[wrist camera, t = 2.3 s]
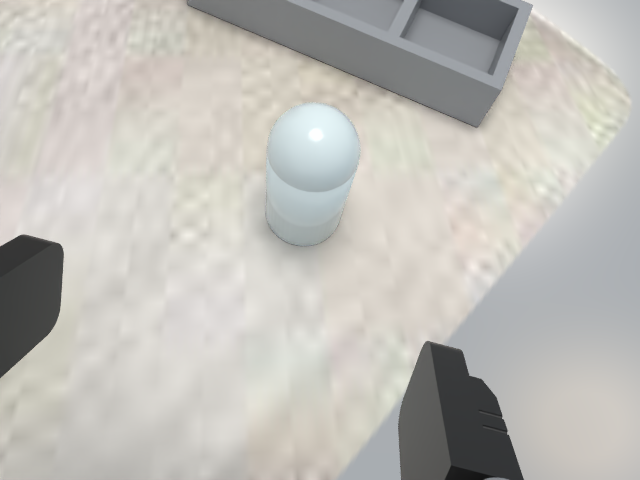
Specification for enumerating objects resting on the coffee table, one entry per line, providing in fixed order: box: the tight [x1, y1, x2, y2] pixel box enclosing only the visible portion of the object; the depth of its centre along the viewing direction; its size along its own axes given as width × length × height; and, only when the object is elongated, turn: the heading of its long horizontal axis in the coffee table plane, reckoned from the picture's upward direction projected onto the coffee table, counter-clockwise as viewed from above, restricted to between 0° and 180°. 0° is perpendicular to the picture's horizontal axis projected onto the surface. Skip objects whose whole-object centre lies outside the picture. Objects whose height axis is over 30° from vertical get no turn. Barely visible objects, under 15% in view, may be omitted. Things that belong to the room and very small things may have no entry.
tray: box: [187, 0, 533, 127], centre depth 37 cm, size 22×8×4 cm, turn 66°
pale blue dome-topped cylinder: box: [266, 102, 361, 246], centre depth 28 cm, size 5×5×9 cm
